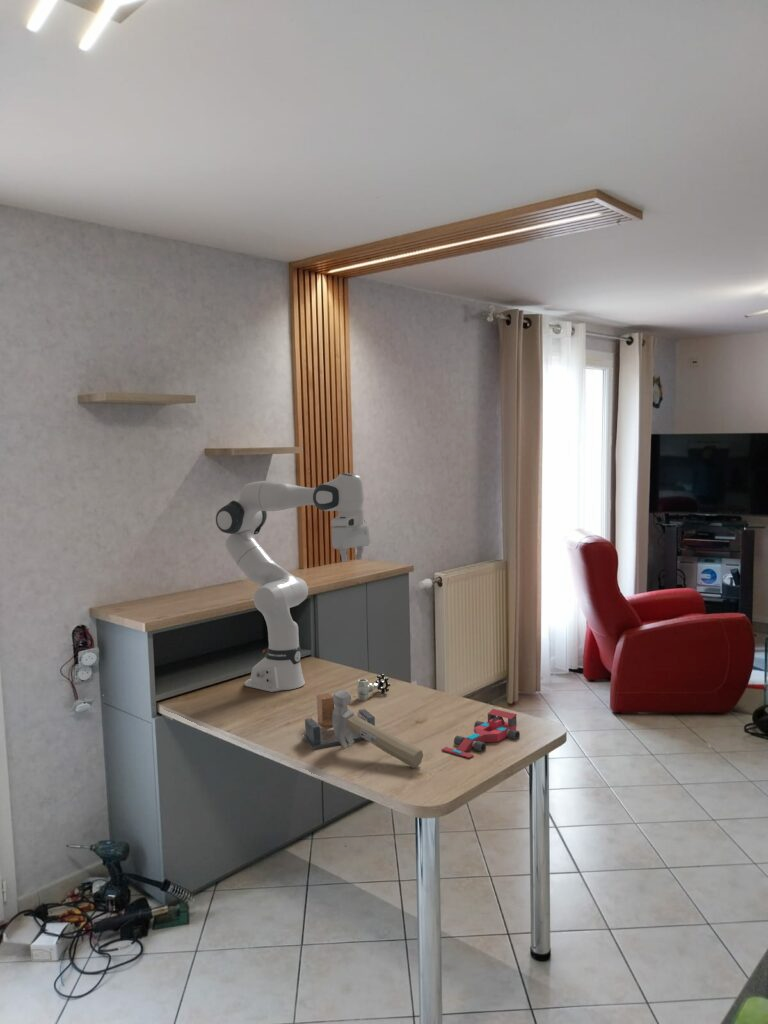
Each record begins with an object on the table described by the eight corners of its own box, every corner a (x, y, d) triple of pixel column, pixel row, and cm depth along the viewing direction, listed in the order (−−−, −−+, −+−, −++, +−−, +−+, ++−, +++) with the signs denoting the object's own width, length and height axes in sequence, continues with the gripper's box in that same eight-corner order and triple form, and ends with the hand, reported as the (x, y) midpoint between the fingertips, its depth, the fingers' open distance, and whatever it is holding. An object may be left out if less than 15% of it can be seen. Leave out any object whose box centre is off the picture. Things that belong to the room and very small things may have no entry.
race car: (434, 730, 216) (484, 706, 234) (434, 750, 216) (485, 725, 235) (475, 741, 206) (525, 716, 225) (476, 763, 207) (525, 736, 225)
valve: (365, 702, 259) (390, 694, 267) (364, 683, 259) (390, 675, 267) (352, 698, 264) (377, 690, 272) (351, 679, 264) (377, 672, 272)
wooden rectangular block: (317, 722, 241) (316, 694, 240) (329, 720, 242) (328, 692, 241) (322, 727, 236) (321, 699, 235) (335, 725, 237) (334, 697, 237)
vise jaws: (303, 738, 228) (302, 718, 227) (365, 726, 235) (365, 707, 235) (313, 749, 219) (312, 729, 218) (378, 737, 226) (377, 717, 226)
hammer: (425, 731, 202) (342, 687, 220) (414, 739, 198) (330, 694, 216) (422, 780, 207) (341, 733, 225) (411, 788, 204) (330, 741, 222)
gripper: (357, 519, 273) (358, 558, 273) (328, 521, 255) (328, 563, 255) (373, 519, 270) (374, 558, 271) (344, 521, 252) (345, 563, 252)
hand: (351, 560), depth 263 cm, fingers open, 8 cm apart
